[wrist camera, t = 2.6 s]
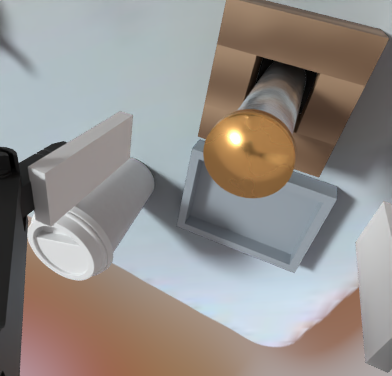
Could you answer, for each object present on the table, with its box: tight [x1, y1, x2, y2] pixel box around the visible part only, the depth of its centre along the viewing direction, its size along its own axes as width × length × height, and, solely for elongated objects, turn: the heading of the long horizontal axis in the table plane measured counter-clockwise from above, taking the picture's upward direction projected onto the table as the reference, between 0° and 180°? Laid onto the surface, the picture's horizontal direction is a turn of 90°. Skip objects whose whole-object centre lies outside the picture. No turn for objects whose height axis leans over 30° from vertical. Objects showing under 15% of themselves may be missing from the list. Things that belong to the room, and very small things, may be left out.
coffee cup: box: [27, 158, 155, 280], centre depth 38 cm, size 10×10×15 cm
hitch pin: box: [203, 61, 306, 198], centre depth 24 cm, size 5×5×17 cm
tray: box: [177, 140, 337, 273], centre depth 39 cm, size 12×16×2 cm
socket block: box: [198, 0, 389, 177], centre depth 29 cm, size 12×12×5 cm
